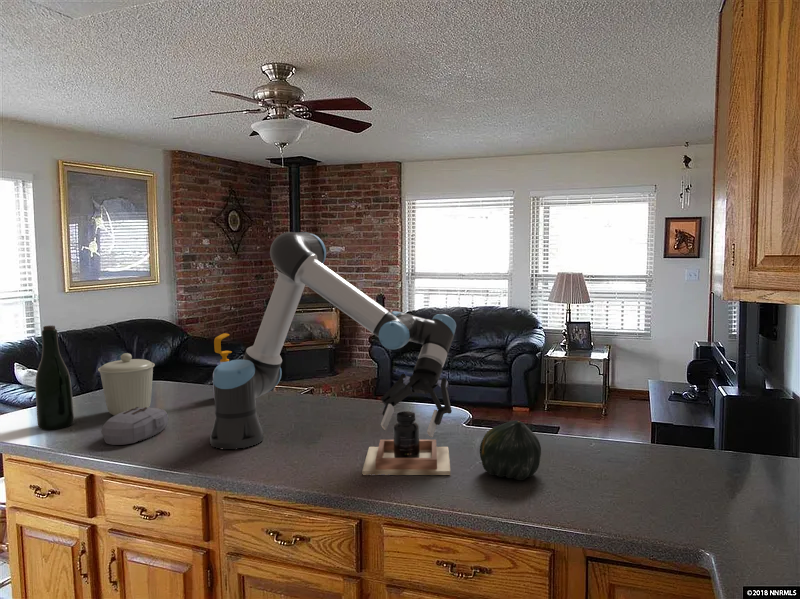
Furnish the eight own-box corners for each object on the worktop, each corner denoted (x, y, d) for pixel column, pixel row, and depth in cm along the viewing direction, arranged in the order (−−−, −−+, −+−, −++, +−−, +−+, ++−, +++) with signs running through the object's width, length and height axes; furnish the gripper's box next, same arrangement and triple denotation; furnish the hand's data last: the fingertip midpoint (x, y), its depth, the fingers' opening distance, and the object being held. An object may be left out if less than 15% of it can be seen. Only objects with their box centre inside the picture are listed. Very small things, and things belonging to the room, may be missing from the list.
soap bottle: (243, 397, 232) (240, 333, 229) (221, 402, 225) (218, 336, 223) (230, 394, 238) (227, 331, 236) (209, 398, 231) (206, 334, 229)
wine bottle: (55, 431, 193) (47, 328, 190) (30, 429, 197) (22, 327, 194) (81, 422, 203) (75, 323, 200) (57, 420, 207) (50, 323, 203)
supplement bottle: (392, 453, 165) (392, 410, 163) (418, 452, 165) (417, 409, 164) (395, 463, 158) (394, 418, 157) (421, 462, 158) (420, 416, 157)
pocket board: (362, 475, 153) (361, 461, 153) (369, 450, 171) (369, 438, 171) (450, 475, 152) (450, 461, 152) (448, 450, 170) (448, 437, 169)
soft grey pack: (136, 425, 199) (89, 445, 180) (134, 400, 198) (87, 418, 179) (176, 428, 195) (132, 449, 176) (174, 403, 194) (131, 421, 175)
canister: (139, 403, 227) (135, 347, 225) (167, 410, 216) (164, 351, 214) (90, 415, 212) (86, 355, 210) (118, 423, 201) (115, 360, 199)
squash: (476, 440, 162) (482, 409, 151) (533, 442, 161) (543, 411, 150) (479, 491, 152) (485, 462, 141) (539, 493, 152) (550, 464, 141)
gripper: (475, 375, 168) (454, 444, 156) (395, 367, 180) (370, 431, 168) (468, 359, 163) (445, 430, 151) (386, 352, 175) (359, 417, 163)
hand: (406, 431), depth 160 cm, fingers open, 13 cm apart
